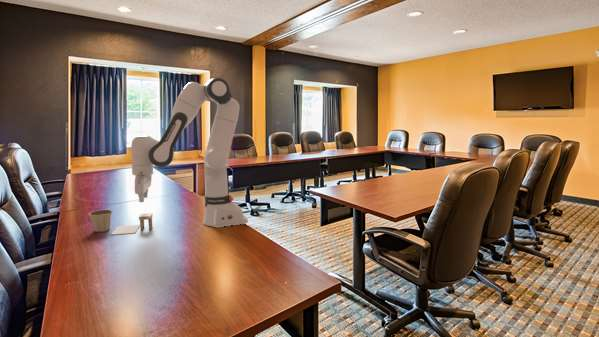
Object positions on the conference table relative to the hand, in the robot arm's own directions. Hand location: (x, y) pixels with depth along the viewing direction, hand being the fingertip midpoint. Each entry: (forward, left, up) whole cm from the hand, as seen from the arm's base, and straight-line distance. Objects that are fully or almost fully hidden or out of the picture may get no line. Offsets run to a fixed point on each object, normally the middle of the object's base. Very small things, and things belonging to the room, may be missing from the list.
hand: (143, 199), depth 154 cm
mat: (+8, -1, -15) cm, 17 cm away
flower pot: (+19, -4, -15) cm, 25 cm away
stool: (-1, 0, -15) cm, 15 cm away
